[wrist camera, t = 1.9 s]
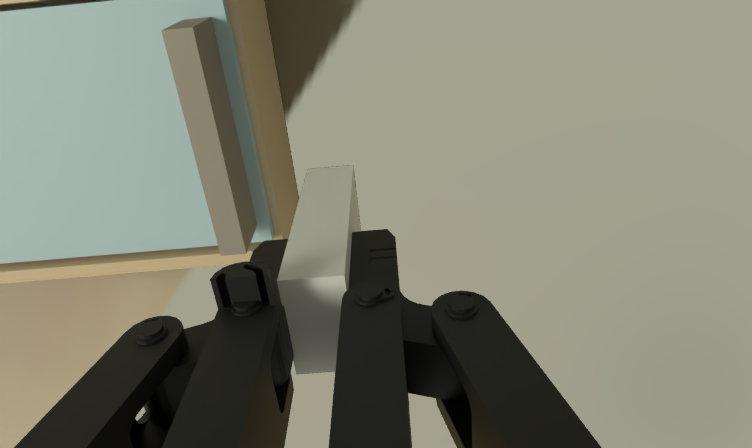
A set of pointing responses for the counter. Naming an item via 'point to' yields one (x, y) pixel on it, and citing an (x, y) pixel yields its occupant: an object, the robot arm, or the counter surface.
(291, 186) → the wooden box
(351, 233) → the robot arm
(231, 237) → the lid
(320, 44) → the counter surface
